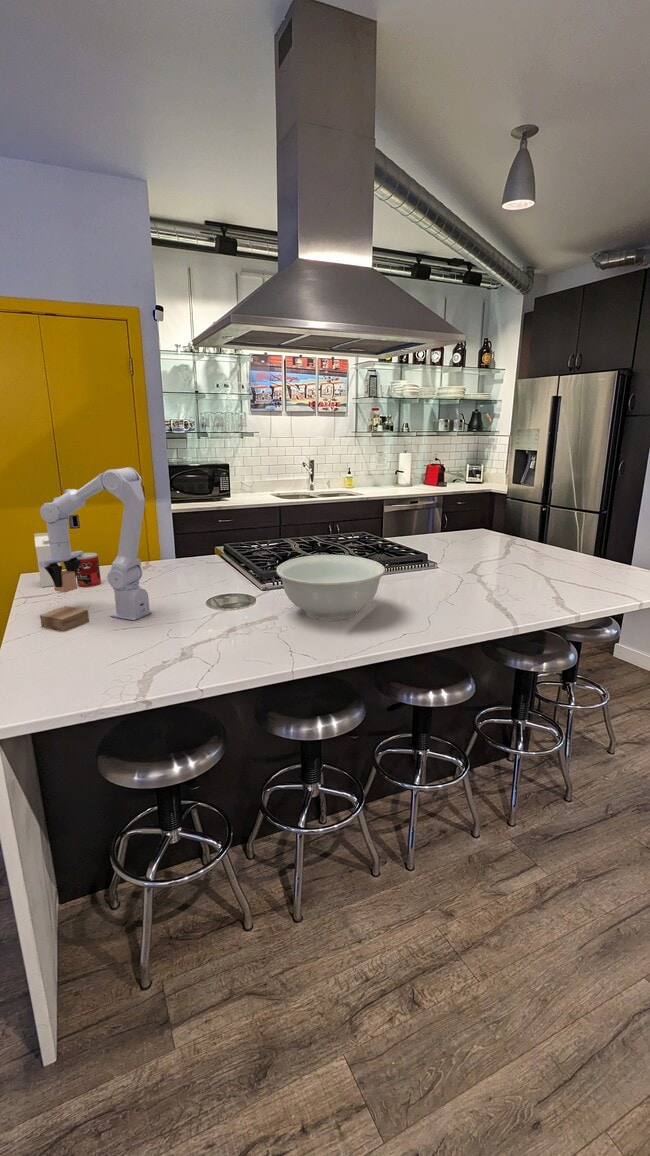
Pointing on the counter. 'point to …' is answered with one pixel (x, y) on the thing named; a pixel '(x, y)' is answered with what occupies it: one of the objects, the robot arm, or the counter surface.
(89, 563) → the canned food
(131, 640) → the counter surface
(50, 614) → the walnut base block
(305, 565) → the bowl
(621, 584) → the counter surface
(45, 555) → the milk carton
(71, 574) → the terracotta block
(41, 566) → the robot arm
